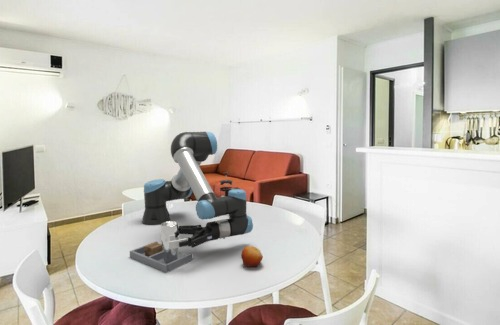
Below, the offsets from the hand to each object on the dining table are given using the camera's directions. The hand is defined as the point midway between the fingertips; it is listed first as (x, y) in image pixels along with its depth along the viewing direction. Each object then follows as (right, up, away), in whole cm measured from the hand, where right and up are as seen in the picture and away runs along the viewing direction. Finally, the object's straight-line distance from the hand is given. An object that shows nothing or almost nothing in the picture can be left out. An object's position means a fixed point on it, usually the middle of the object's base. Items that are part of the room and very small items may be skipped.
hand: (165, 239), depth 110 cm
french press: (+16, 0, +90) cm, 92 cm away
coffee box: (+24, -3, +66) cm, 70 cm away
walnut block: (-7, -8, +8) cm, 14 cm away
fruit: (+33, -9, -1) cm, 34 cm away
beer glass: (+2, -9, +2) cm, 10 cm away
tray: (-3, -9, +5) cm, 11 cm away
